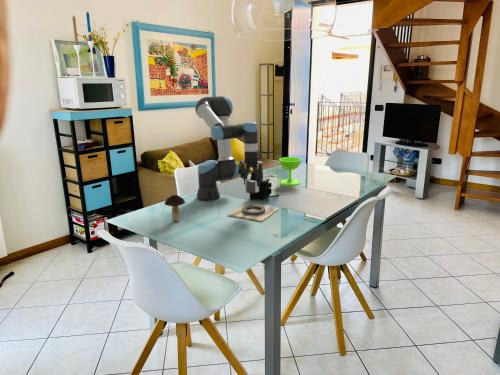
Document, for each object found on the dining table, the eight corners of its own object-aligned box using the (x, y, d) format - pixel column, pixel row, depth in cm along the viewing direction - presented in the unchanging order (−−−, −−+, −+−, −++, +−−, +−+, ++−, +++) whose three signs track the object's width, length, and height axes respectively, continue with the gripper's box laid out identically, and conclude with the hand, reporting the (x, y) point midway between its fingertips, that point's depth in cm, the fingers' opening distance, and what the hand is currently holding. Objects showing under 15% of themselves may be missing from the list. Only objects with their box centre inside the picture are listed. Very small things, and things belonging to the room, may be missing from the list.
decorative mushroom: (177, 216, 204) (175, 191, 199) (190, 220, 197) (188, 194, 193) (162, 222, 195) (159, 195, 191) (175, 226, 189) (172, 199, 184)
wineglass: (301, 185, 258) (302, 161, 253) (279, 186, 258) (279, 161, 253) (299, 180, 273) (299, 156, 268) (278, 180, 273) (278, 157, 268)
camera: (270, 201, 226) (270, 170, 220) (249, 200, 228) (248, 169, 223) (272, 196, 235) (272, 166, 229) (252, 195, 238) (251, 166, 232)
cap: (244, 192, 201) (244, 181, 200) (249, 189, 206) (249, 179, 205) (253, 193, 199) (253, 183, 197) (258, 191, 204) (258, 180, 202)
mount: (227, 215, 203) (227, 212, 202) (246, 204, 221) (246, 200, 221) (262, 222, 193) (262, 218, 192) (279, 209, 211) (279, 205, 210)
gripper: (232, 150, 198) (234, 190, 204) (263, 152, 189) (263, 194, 195) (239, 148, 204) (241, 187, 210) (269, 150, 195) (269, 191, 201)
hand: (252, 191), depth 203 cm, fingers closed on cap, 6 cm apart
